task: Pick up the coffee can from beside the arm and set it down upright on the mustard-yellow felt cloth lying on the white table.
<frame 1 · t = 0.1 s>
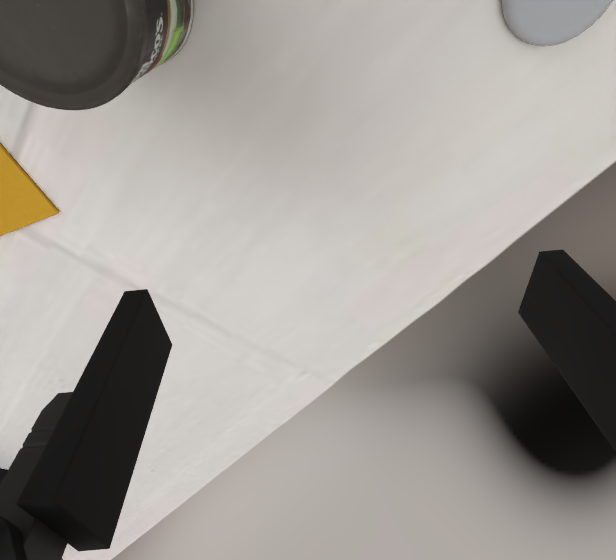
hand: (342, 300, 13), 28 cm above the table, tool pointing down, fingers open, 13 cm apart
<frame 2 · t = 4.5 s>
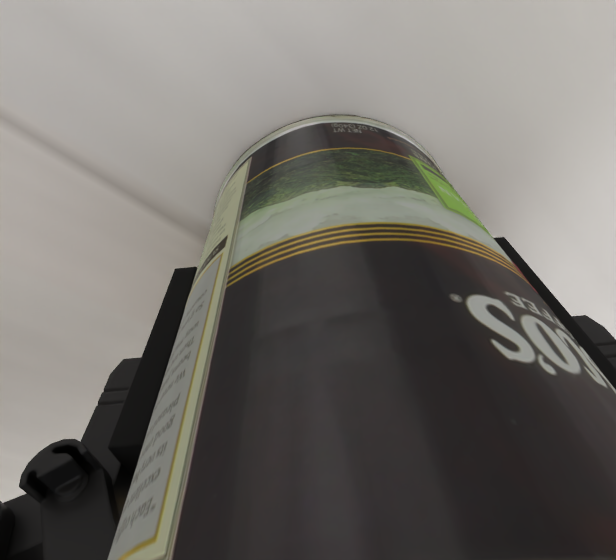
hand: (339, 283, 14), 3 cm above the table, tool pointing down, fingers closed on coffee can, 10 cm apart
coffee can: (329, 234, 17), on the table, touching gripper
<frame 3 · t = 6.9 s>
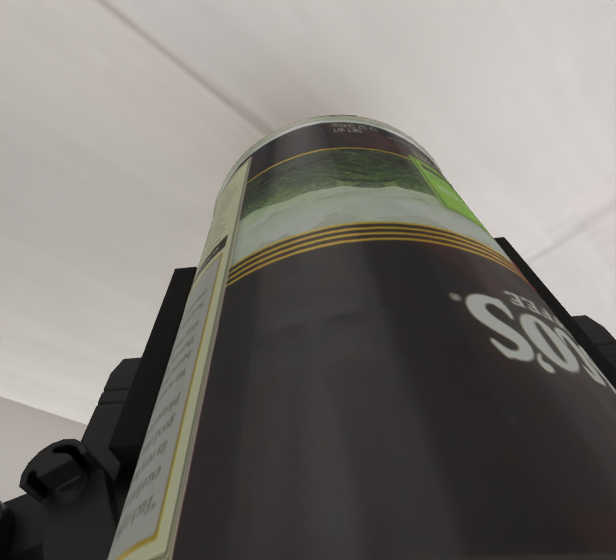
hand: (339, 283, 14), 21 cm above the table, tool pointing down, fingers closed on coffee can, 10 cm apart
coffee can: (329, 233, 17), point 17 cm above the table, touching gripper
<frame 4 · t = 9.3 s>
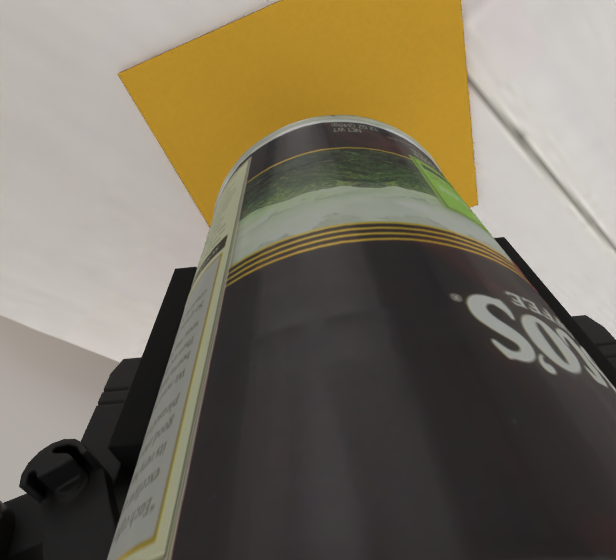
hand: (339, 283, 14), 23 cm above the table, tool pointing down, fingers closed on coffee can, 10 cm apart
cloth: (320, 146, 34), on the table
coffee can: (329, 233, 17), point 20 cm above the table, touching gripper
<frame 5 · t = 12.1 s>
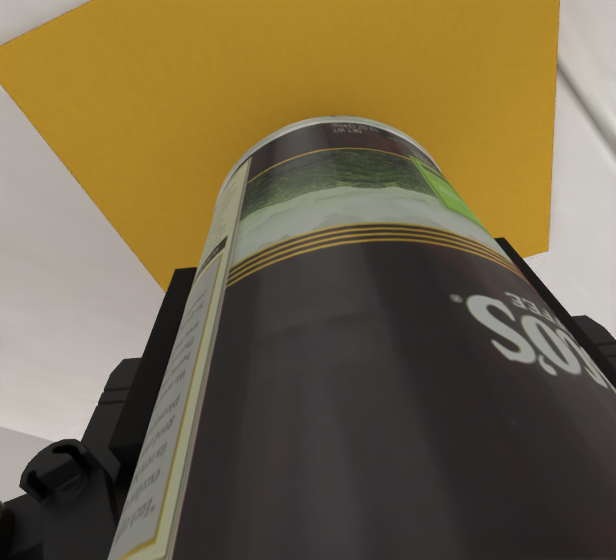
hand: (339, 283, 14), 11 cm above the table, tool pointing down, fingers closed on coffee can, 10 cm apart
cloth: (318, 170, 22), on the table
coffee can: (329, 234, 17), point 7 cm above the table, touching gripper
when the fingers open (4 cm above the table, at t = 14.2 s): coffee can stays where it is, resting on cloth.
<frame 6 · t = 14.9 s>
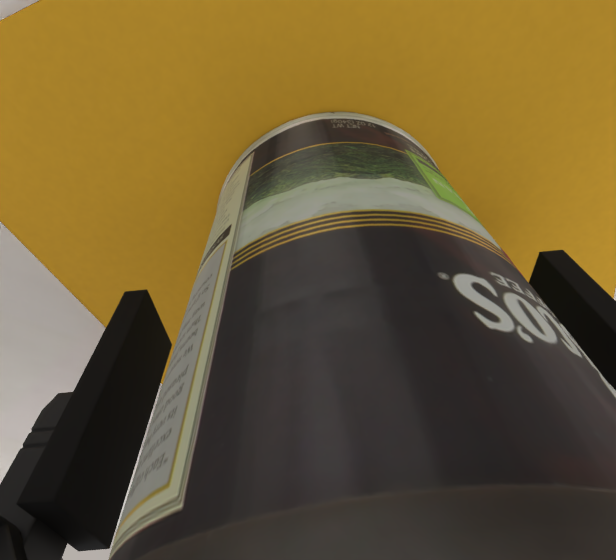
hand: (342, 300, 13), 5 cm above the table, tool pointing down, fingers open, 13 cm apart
cloth: (330, 225, 18), on the table
coffee can: (329, 227, 17), resting on cloth
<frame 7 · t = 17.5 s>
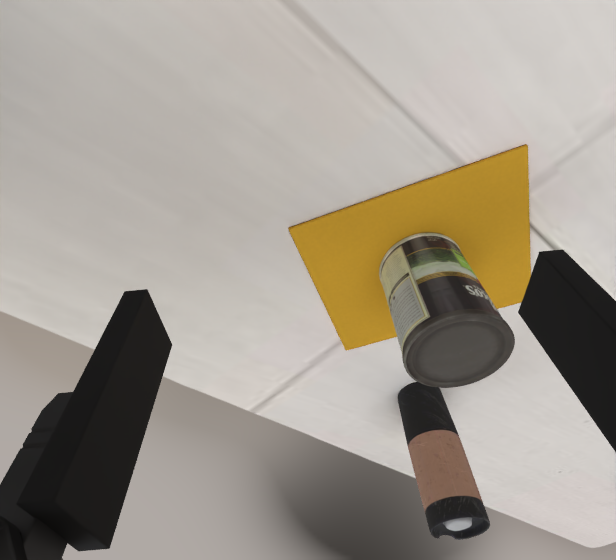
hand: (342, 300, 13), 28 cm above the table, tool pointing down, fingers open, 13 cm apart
travel mug: (418, 393, 64), on the table
cloth: (418, 265, 48), on the table
coffee can: (418, 266, 47), resting on cloth
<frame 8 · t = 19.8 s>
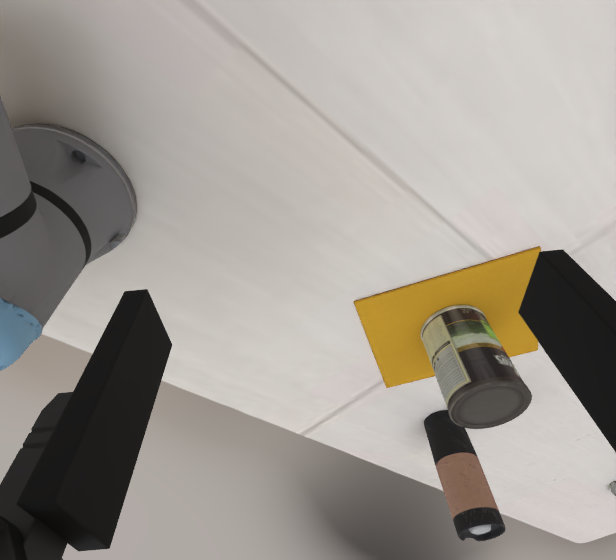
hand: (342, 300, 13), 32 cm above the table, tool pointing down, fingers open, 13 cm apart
travel mug: (441, 419, 77), on the table
cloth: (451, 326, 60), on the table
coffee can: (451, 327, 60), resting on cloth
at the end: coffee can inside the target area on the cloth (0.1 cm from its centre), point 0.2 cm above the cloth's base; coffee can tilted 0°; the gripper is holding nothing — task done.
